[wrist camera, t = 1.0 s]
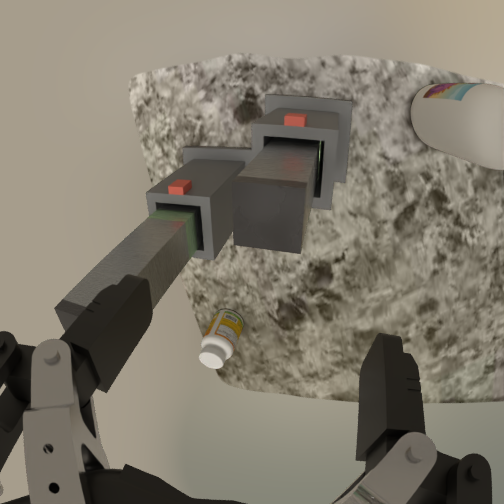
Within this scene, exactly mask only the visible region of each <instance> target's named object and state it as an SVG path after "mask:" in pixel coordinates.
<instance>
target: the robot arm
mask: <svg viewBox="0 0 504 504" xmlns="http://www.w3.org/2000/svg"><path fill="white" fill-rule="evenodd" d="M152 314H153V309H152V301H151V293H150V285H149V281H148V280H147V279H145V278H142V277H138V276H134V275H131V274H127V275H125V276H124V277H123V279H122V280H121V281H120V282H119V283H118V284H117V285H114V284H112V285H110V286H108V287H106V288H105V289H103V290H101V291H100V292H99V293H98V294H97V295H96V297H95V298H94V299H93V300H92V303H91V302H90V303H89V305H88V306H87V307H86V309H85V310H83V312H82V313H81V314H80V315H79V316H78V317H77V319H76V320H75V321H74V322H73V323H72V325H71V326H70V327H69V328H68V329H67V331H66V332H65V333H64V334H63V335H62V337H61V338H60V339H50V340H46V341H44V342H42V343H41V344H39V345H38V346H37V347H35V346H28V345H21V344H18V343H17V341H16V339H15V337H14V336H13V335H12V334H11V333H9V332H6V331H1V332H0V388H1V386H2V385H3V384H5V386H6V388H5V390H4V391H3V393H2V394H1V396H0V472H1V470H2V468H3V466H4V464H5V462H6V460H7V458H8V456H9V455H10V453H11V451H12V449H13V447H14V445H15V443H16V442H17V440H18V438H19V436H20V435H21V433H22V431H23V436H24V452H25V463H26V473H27V481H28V488H29V495H27V496H24V497H21V498H18V499H15V500H11V501H8V502H5V503H2V504H246V503H241V502H237V501H232V500H230V501H229V500H209V499H195V498H191V497H189V496H187V495H185V494H184V493H182V492H181V491H179V490H177V489H176V488H174V487H172V486H171V485H169V484H168V483H166V482H165V481H163V480H162V479H160V478H159V477H156V476H154V475H151V474H149V473H146V472H144V471H141V470H139V469H137V468H134V467H132V466H130V465H127V464H125V466H124V468H123V470H121V469H110V467H109V463H108V460H107V457H106V454H105V452H104V450H103V447H102V444H101V441H100V436H99V431H98V425H97V420H96V414H95V407H94V401H93V396H92V394H93V393H94V391H95V390H96V389H99V390H101V391H103V392H105V393H107V392H108V390H109V389H110V387H111V385H112V384H113V382H114V380H115V379H116V377H117V376H118V374H119V372H120V371H121V369H122V368H123V366H124V365H125V363H126V361H127V360H128V358H129V356H130V355H131V353H132V352H133V350H134V348H135V347H136V346H137V344H138V342H139V341H140V339H141V338H142V336H143V335H144V333H145V332H146V330H147V329H148V327H149V325H150V323H151V320H152ZM419 380H420V377H419V370H418V365H417V364H416V362H415V360H414V358H413V357H412V355H411V354H409V353H403V345H402V339H401V337H400V336H395V335H389V334H384V333H379V334H378V335H377V336H376V338H375V340H374V342H373V344H372V346H371V348H370V350H369V352H368V354H367V356H366V358H365V359H364V361H363V364H362V367H361V371H360V378H359V414H358V433H357V449H356V460H357V461H366V467H365V471H363V472H362V473H361V475H359V477H357V479H356V480H355V481H354V482H353V483H352V484H351V485H350V486H349V487H347V488H346V489H345V490H344V491H343V492H342V493H341V494H340V495H339V496H338V497H337V498H336V499H335V500H334V501H333V502H332V503H330V504H492V481H491V469H490V465H489V463H488V461H487V460H486V459H485V458H484V457H483V456H481V455H479V454H469V455H466V456H465V457H464V458H462V459H461V460H459V459H457V458H454V457H451V456H448V455H446V454H443V453H441V452H439V451H437V450H436V447H435V444H434V443H433V441H432V440H431V439H430V438H429V437H428V436H426V432H425V422H424V411H423V401H422V393H421V385H420V382H419ZM2 493H3V487H2V485H1V484H0V496H1V495H2Z"/></svg>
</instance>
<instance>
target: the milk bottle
mask: <svg viewBox="0 0 504 504" xmlns="http://www.w3.org/2000/svg"><path fill="white" fill-rule="evenodd" d="M411 121H412V125H413V128H414V130H415V132H416V134H417V135H418V137H419V138H420V139H421V140H422V141H423V142H424V143H425V144H427V145H428V146H430V147H432V148H435V149H437V150H440V151H443V152H445V153H448V154H451V155H453V156H456V157H459V158H461V159H464V160H467V161H469V162H472V163H474V164H477V165H480V166H483V167H486V168H490V169H495V170H504V88H502V87H499V86H496V85H491V84H481V83H447V84H433V85H428V86H426V87H424V88H422V89H421V90H420V91H419V92H418V93H417V94H416V96H415V97H414V100H413V102H412V106H411Z"/></svg>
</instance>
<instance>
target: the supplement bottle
mask: <svg viewBox="0 0 504 504" xmlns="http://www.w3.org/2000/svg"><path fill="white" fill-rule="evenodd" d="M243 325H244V323H243V320H242V318H241V316H240V315H238V314H237V313H236V312H234V311H232V310H228V309H223V310H219V311H218V312H217V313H216V314H215V315H214V317H213V319H212V321H211V323H210V325H209V327H208V329H207V331H206V333H205V335H204V337H203V339H202V342H201V347H202V351H201V353H200V355H199V359H200V361H201V362H202V363H203V364H204V365H206V366H207V367H210V368H214V369H218V368H221V367H222V366H223V364H224V362H225V360H226V359H228V358H230V357H231V355H232V354H233V351H234V349H235V346H236V344H237V341H238V339H239V336H240V334H241V331H242V329H243Z"/></svg>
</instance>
